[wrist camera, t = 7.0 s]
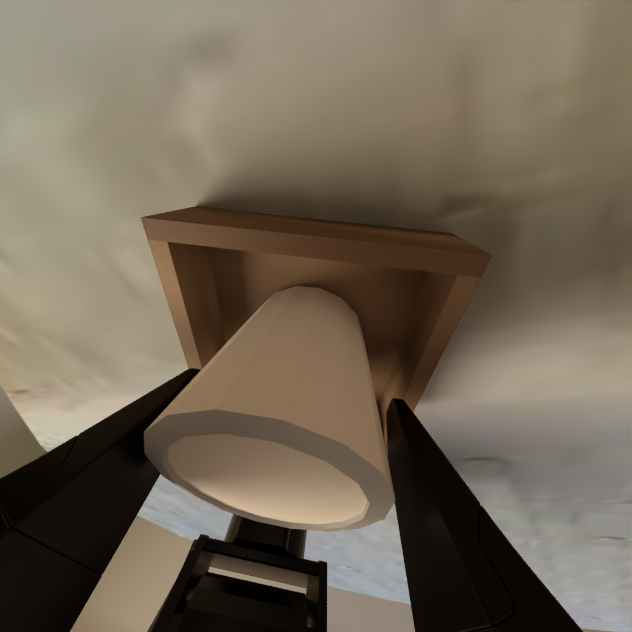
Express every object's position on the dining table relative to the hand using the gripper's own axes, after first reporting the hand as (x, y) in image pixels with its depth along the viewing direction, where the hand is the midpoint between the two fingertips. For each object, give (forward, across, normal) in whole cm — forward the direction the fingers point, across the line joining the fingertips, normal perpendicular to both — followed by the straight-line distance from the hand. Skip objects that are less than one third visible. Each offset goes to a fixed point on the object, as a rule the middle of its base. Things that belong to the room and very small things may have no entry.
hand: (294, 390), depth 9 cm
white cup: (+4, 0, 0) cm, 4 cm away
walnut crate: (+4, 0, 0) cm, 4 cm away
